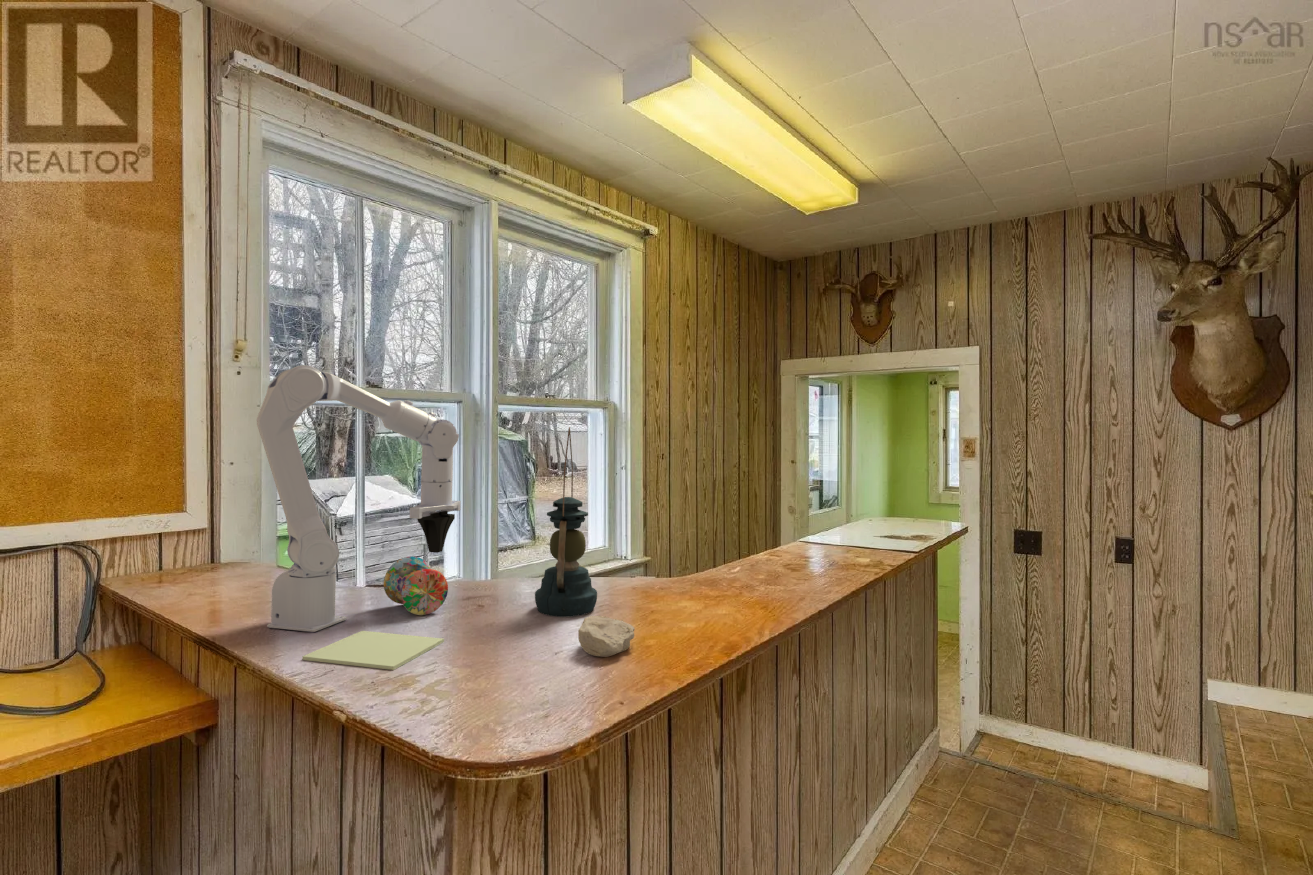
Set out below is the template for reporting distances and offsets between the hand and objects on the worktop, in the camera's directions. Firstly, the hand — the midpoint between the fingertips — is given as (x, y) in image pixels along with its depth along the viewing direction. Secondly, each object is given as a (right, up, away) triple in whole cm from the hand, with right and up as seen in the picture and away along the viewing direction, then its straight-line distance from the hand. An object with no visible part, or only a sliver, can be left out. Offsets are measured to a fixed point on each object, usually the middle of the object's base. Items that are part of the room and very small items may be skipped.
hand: (435, 551), depth 125 cm
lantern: (+25, -11, -1) cm, 28 cm away
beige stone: (+35, -11, -23) cm, 43 cm away
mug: (+2, -7, -7) cm, 10 cm away
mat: (0, -10, -26) cm, 28 cm away
